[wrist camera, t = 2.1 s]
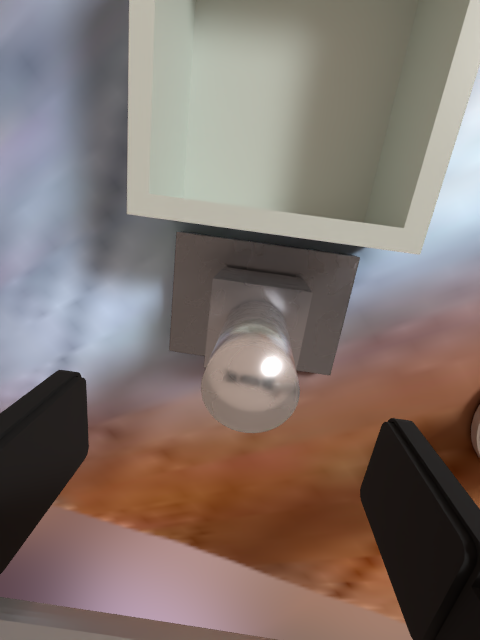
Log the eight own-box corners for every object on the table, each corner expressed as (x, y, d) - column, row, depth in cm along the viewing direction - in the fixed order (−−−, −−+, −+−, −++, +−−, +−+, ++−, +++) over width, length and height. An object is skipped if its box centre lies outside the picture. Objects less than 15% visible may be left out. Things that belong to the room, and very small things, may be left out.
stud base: (354, 255, 24) (383, 266, 18) (326, 367, 27) (344, 408, 21) (181, 231, 24) (154, 234, 18) (174, 344, 28) (149, 377, 22)
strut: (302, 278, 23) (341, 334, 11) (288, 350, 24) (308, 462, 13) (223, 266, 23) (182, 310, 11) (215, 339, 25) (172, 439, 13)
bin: (450, -64, 18) (585, -273, 10) (370, 244, 24) (419, 254, 16) (186, -90, 19) (132, -307, 11) (170, 216, 24) (127, 213, 17)
